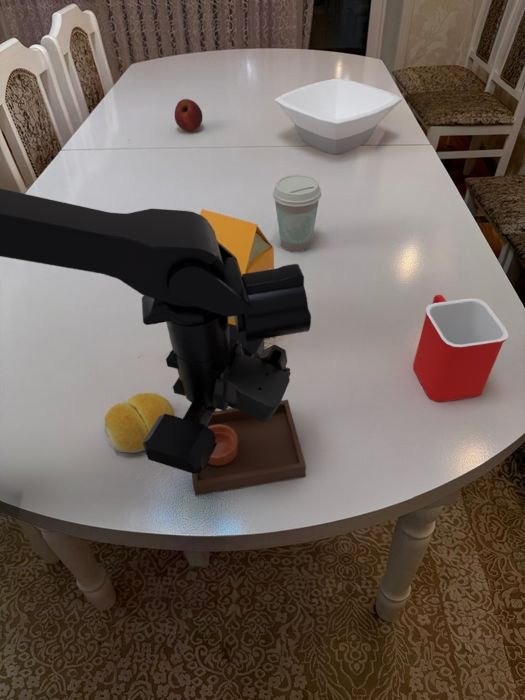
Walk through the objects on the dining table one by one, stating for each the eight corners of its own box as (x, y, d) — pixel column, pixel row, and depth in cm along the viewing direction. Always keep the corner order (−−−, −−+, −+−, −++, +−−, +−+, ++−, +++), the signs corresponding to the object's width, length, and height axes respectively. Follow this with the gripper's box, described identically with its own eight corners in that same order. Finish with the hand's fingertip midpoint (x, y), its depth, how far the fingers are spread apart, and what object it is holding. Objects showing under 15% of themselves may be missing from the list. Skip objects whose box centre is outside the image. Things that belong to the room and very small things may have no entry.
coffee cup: (270, 254, 92) (268, 194, 84) (277, 230, 98) (276, 171, 90) (316, 257, 91) (319, 197, 83) (320, 232, 97) (323, 173, 88)
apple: (171, 133, 134) (166, 102, 129) (185, 123, 139) (180, 92, 134) (195, 137, 132) (191, 105, 127) (208, 126, 137) (205, 95, 132)
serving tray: (195, 496, 58) (192, 486, 56) (189, 426, 65) (186, 415, 64) (305, 476, 59) (306, 466, 58) (287, 410, 66) (287, 399, 65)
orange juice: (229, 307, 82) (217, 195, 68) (276, 324, 78) (273, 210, 64) (202, 336, 77) (182, 222, 63) (251, 356, 74) (241, 240, 60)
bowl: (335, 171, 115) (338, 126, 108) (267, 139, 129) (266, 97, 122) (404, 141, 125) (411, 98, 118) (334, 115, 140) (336, 75, 132)
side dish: (201, 470, 60) (199, 460, 58) (198, 438, 63) (196, 427, 62) (241, 464, 60) (239, 453, 59) (235, 432, 64) (234, 421, 62)
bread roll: (186, 431, 65) (181, 413, 62) (121, 465, 61) (113, 447, 58) (159, 391, 70) (154, 372, 67) (98, 421, 66) (90, 402, 63)
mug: (488, 396, 67) (514, 339, 59) (430, 405, 66) (448, 348, 58) (451, 336, 75) (468, 279, 68) (398, 343, 74) (410, 287, 67)
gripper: (242, 439, 40) (252, 527, 51) (308, 299, 52) (305, 394, 63) (123, 405, 43) (157, 495, 54) (211, 280, 55) (224, 374, 66)
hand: (217, 435), depth 59 cm, fingers open, 9 cm apart
